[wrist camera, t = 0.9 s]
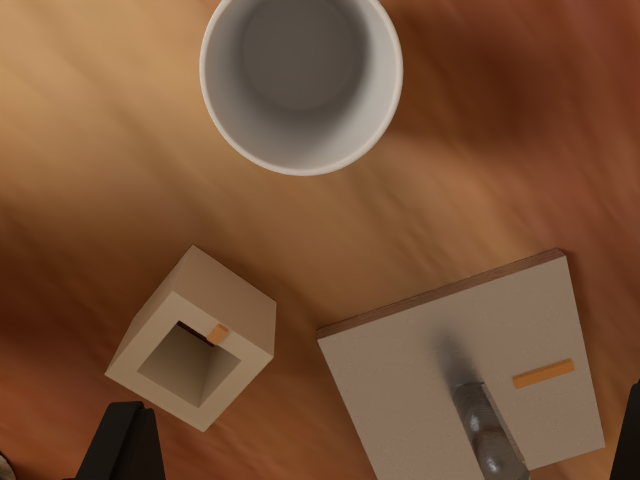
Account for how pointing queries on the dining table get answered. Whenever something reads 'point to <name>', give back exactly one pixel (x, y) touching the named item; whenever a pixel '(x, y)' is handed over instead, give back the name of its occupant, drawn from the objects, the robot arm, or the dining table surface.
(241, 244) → the dining table surface
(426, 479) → the square peg base
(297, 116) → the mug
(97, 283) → the dining table surface
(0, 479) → the figurine
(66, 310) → the dining table surface
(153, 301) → the hollow square tube
